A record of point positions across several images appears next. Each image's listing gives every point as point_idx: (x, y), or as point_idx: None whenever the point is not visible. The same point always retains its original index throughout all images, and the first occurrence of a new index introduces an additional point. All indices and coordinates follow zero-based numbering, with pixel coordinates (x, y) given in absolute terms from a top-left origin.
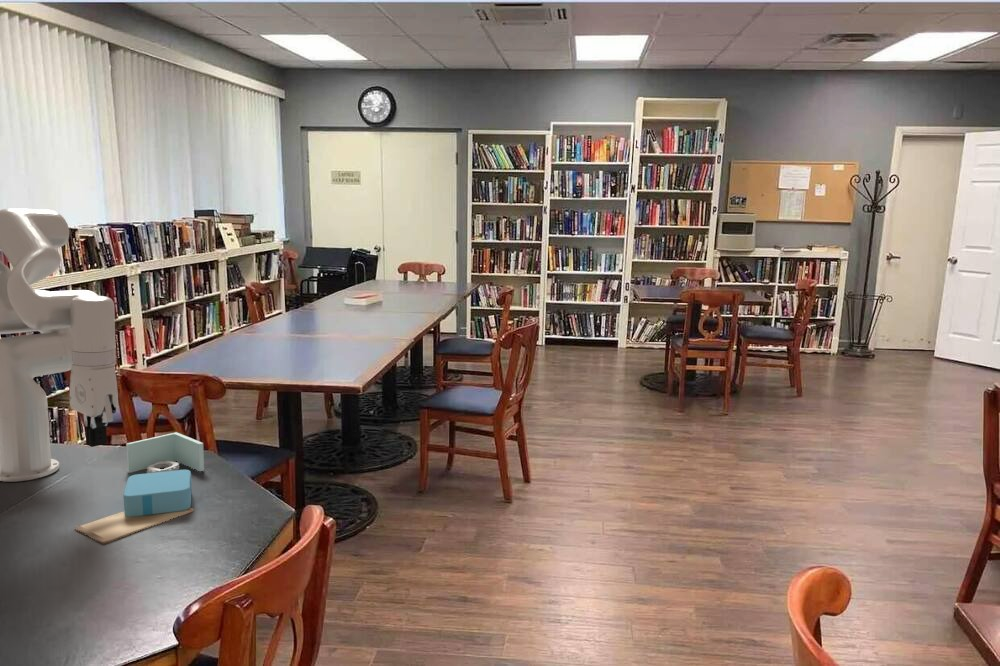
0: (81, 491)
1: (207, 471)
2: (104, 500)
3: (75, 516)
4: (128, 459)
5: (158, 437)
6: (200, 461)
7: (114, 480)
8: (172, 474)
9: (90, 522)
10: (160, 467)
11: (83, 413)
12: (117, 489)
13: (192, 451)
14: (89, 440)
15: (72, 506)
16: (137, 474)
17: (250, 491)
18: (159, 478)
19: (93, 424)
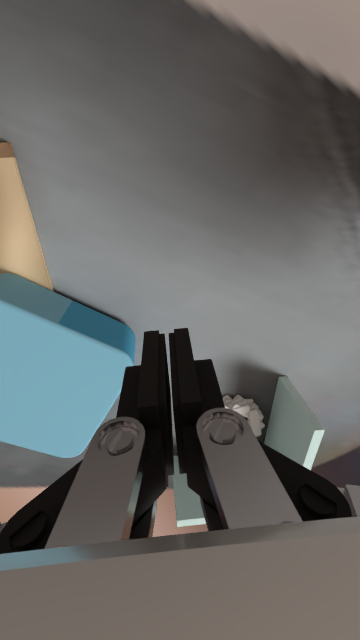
0: (264, 268)
1: None
2: (165, 282)
3: (111, 187)
4: (294, 398)
5: None
6: (173, 478)
7: (264, 342)
8: (63, 427)
9: (21, 191)
10: (248, 422)
11: (82, 564)
12: (208, 327)
13: None
14: (150, 347)
15: (186, 211)
16: None
17: (9, 477)
18: (55, 400)
19: (91, 457)
